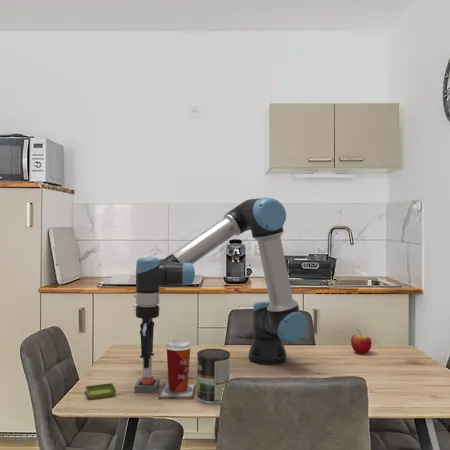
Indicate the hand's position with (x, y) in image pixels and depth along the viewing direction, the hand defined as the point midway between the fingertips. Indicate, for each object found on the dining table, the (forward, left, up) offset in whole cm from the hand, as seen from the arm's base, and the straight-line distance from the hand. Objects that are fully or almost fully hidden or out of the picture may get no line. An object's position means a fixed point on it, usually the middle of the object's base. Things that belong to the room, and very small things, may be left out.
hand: (147, 376), depth 158 cm
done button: (0, 0, -3) cm, 3 cm away
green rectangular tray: (+14, +5, -5) cm, 16 cm away
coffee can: (-22, +8, -4) cm, 24 cm away
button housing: (0, 0, -4) cm, 4 cm away
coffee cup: (-11, +3, -3) cm, 11 cm away
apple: (-82, -45, -4) cm, 94 cm away
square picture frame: (-11, +3, -4) cm, 12 cm away
